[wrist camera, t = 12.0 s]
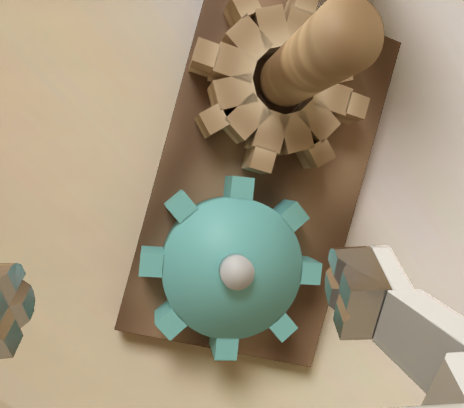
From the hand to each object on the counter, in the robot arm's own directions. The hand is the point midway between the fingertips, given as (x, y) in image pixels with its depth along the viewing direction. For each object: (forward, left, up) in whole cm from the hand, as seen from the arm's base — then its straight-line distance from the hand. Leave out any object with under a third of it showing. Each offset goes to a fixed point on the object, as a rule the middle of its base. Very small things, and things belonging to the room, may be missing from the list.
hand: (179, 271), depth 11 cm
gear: (+5, -2, -15) cm, 16 cm away
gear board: (+6, +4, -17) cm, 18 cm away
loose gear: (+5, +10, -15) cm, 19 cm away
